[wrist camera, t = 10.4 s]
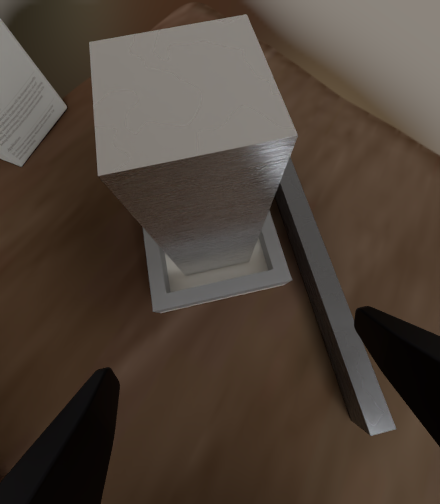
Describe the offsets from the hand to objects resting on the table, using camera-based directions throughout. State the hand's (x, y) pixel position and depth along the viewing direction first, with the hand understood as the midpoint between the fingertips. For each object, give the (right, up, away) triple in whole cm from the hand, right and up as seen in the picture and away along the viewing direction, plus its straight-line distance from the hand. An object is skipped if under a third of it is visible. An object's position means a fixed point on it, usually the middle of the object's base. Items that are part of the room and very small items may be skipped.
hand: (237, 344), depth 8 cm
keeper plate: (-1, +4, +10) cm, 11 cm away
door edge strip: (+6, +2, +9) cm, 11 cm away
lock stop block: (-1, +4, +10) cm, 11 cm away
